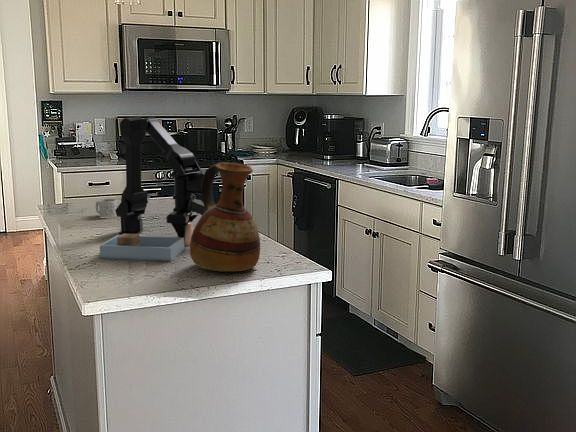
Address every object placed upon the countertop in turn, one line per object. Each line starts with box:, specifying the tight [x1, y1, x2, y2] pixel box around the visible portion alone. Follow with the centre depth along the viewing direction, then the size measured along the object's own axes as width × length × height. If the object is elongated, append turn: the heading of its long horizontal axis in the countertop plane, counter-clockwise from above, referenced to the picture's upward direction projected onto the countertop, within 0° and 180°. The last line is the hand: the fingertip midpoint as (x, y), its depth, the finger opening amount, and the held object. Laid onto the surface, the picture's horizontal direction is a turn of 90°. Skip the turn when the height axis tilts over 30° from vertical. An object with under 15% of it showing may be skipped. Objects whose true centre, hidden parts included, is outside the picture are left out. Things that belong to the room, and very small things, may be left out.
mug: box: [95, 198, 118, 218], centre depth 247 cm, size 10×7×7 cm
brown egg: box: [176, 222, 194, 247], centre depth 205 cm, size 5×5×7 cm
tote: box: [99, 234, 185, 262], centre depth 193 cm, size 22×14×4 cm, turn 83°
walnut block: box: [117, 233, 140, 246], centre depth 193 cm, size 5×5×5 cm
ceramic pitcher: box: [189, 161, 261, 273], centre depth 176 cm, size 20×20×30 cm
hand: (184, 239), depth 205 cm, fingers closed on brown egg, 5 cm apart
